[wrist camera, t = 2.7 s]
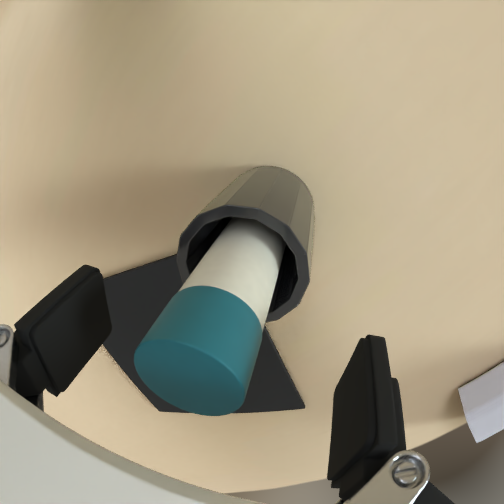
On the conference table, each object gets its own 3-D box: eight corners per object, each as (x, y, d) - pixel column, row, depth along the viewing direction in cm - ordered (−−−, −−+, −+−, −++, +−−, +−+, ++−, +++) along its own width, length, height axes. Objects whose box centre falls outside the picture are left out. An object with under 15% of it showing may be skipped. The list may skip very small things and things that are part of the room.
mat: (69, 290, 29) (66, 292, 28) (223, 239, 22) (221, 241, 21) (160, 409, 36) (159, 411, 35) (305, 405, 29) (304, 408, 28)
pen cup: (212, 184, 20) (154, 231, 13) (296, 152, 18) (280, 185, 11) (246, 258, 22) (211, 332, 15) (326, 235, 20) (326, 310, 13)
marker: (235, 197, 19) (112, 344, 8) (283, 180, 18) (208, 332, 6) (254, 241, 20) (172, 415, 9) (301, 227, 19) (263, 415, 8)
